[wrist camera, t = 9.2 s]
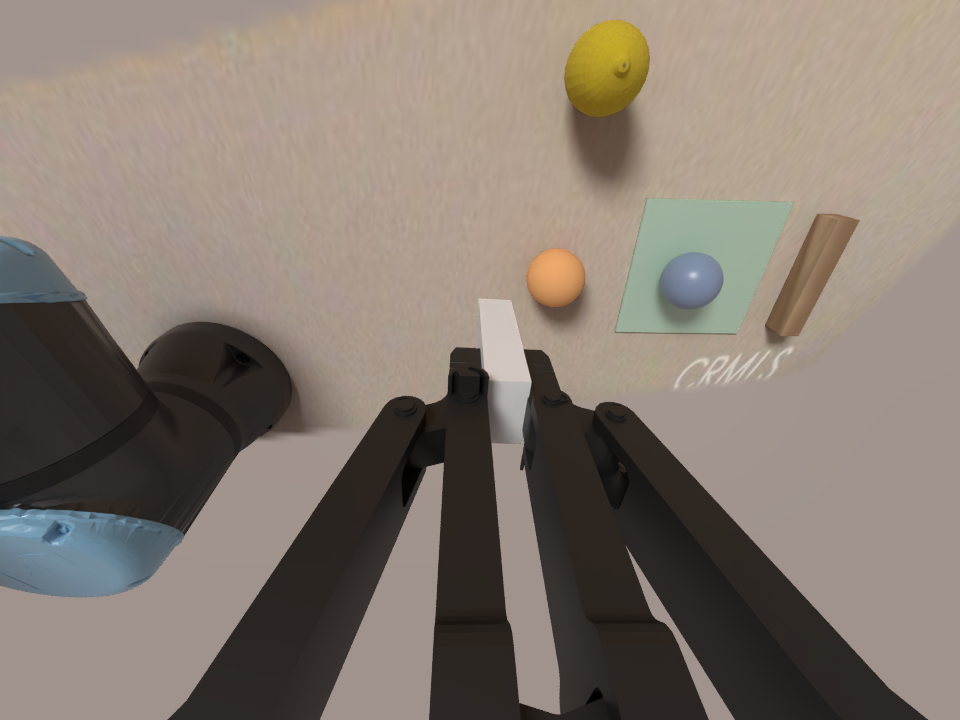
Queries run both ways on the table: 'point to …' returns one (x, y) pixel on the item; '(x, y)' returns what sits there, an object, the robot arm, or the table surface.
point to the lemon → (607, 68)
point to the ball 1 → (555, 277)
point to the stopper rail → (810, 272)
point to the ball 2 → (691, 280)
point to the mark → (706, 229)
